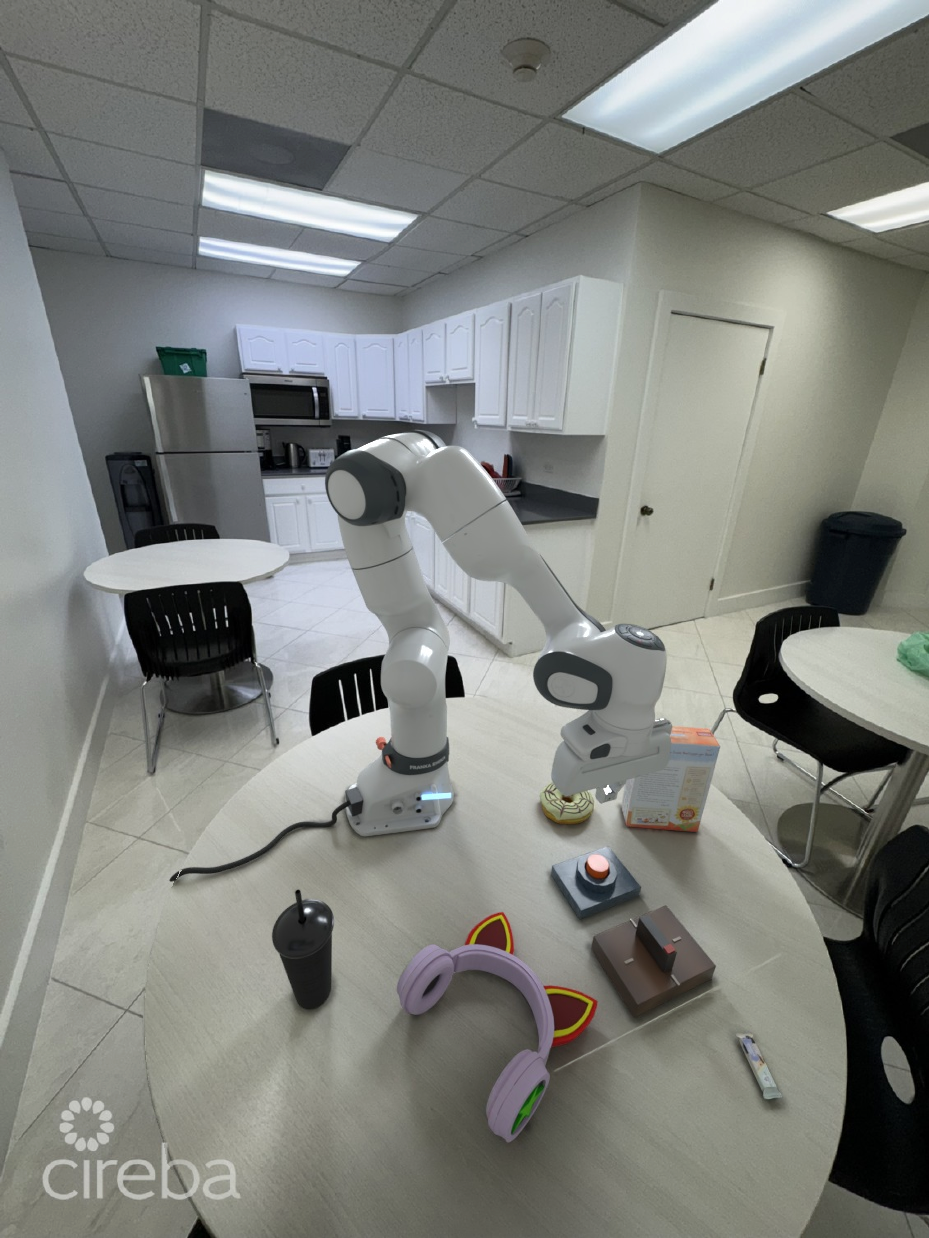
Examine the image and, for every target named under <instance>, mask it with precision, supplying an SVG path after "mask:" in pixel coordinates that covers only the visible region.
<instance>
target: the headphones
mask: <svg viewBox="0 0 929 1238" xmlns="http://www.w3.org/2000/svg"><path fill="white" fill-rule="evenodd" d="M514 952H515V945H514V935H513V931H512V927H511V924H510V922H509V919H508V916H507V915H506V914H505V913H504V912H503V911H500V912H496V913H493V914H490V915H489V916H487V917H485V918H484V919H482V920H481V921H479V922H478V923H477V924H476V925H475V926H474V927H473V928H471V930H470V932H469V933H468V934H467V938H466V941H465V943H464V945H461V946H459V947H455V948H453V949H451V950H450V951H448V950H447V949H445V948H442V947H439V946H438V945H437V944H429V945H427V946H425V947H424V948H422V949H421V950H419V951H418V952H417V953H416V954H415V955H414V956H413V957H412V958H410V960H409V962H408V963H407V964H406V966H405V967H404V969H403V970H402V972H401V974H400V976H399V978H398V981H397V984H396V994H397V995H398V997H399V1004H400V1006H401V1008H402V1009H403V1011H404V1012H405V1013H407V1014H412V1015H414V1016H415V1015H416V1016H417V1015H422V1014H424V1013H426V1012H427V1011H429V1010H430V1009H431V1008H432V1007H433V1006H435V1004H437V1003H438V1001H439V1000H440V999H442V996H444V994H445V992H446V991H447V989H448V987H449V986H450V983H451V982H452V979H453V977H454V973H455V974H458V973H461V972H464V971H474V970H475V971H481V972H486V973H489V974H492V975H495V976H498V977H501V978H502V979H504V980H506V981H508V982H509V983H511V984H512V985H513V986H515V988H517V989H518V990H519V991H520V993H521V994H522V995H523V996H524V999H526V1001H527V1003H528V1005H529V1007H530V1009H531V1011H532V1014H533V1017H534V1021H535V1024H536V1027H537V1028H536V1029H537V1034H538V1046H537V1047H538V1049H537V1051H535V1050H534V1051H532V1050H530V1049H522V1050H521V1051H520V1052H518V1053H517V1054H516V1055H515V1056H514V1057H512V1058H511V1060H510V1061H509V1062H508V1063H507V1064H506V1066H505V1067H504V1068H503V1070H502V1071H501V1073H500V1075H498V1078H497V1080H495V1083H494V1085H493V1087H492V1089H491V1091H490V1094H489V1097H488V1099H487V1103H486V1107H485V1112H486V1117H487V1119H488V1121H487V1125H488V1127H489V1129H490V1131H492V1133H493V1134H494V1135H496V1136H498V1137H501V1138H503V1139H504V1140H505V1142H506V1143H511V1142H512V1141H514V1140H515V1139H516V1138H517V1137H518V1136H519V1135H520V1133H522V1131H523V1130H524V1128H525V1127H526V1125H527V1124H528V1123H529V1121H530V1120H531V1119H532V1117H533V1115H534V1114H535V1112H536V1110H537V1109H538V1107H539V1105H540V1103H541V1101H542V1099H543V1097H544V1095H545V1093H546V1091H547V1088H548V1086H549V1082H550V1079H551V1075H550V1072H549V1071H548V1069H547V1067H546V1064H547V1062H548V1058H549V1055H550V1053H551V1049H552V1048H556V1047H559V1046H563V1045H567V1044H569V1043H572V1042H573V1041H574V1040H576V1039H577V1038H578V1037H579V1036H580V1035H581V1034H582V1033H583V1032H584V1031H585V1030H586V1029H587V1027H588V1026H589V1025H590V1023H591V1022H592V1020H593V1018H594V1017H595V1014H596V1011H597V1008H598V1004H599V1003H598V1001H597V999H595V998H594V997H592V996H590V995H588V994H586V993H583V992H582V991H579V990H575V989H572V988H568V987H564V986H558V985H543V983H542V981H541V980H540V979H539V977H538V976H537V975H536V973H535V972H534V970H532V969H531V968H530V967H529V966H528V965H527V964H526V963H525V962H524V961H522V960H521V959H520V958H518V957H517V956H516V955H514Z"/></svg>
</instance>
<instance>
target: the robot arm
mask: <svg viewBox="0 0 929 1238" xmlns="http://www.w3.org/2000/svg"><path fill="white" fill-rule="evenodd" d="M324 488H325V493H326V497H327V500H328V501H329V504H330V506H331V507H332V509H333V511H334V512H335V513H336V514H337V521H338V527H339V528H338V529H339V533H340V537H341V541H342V544H343V548H344V551H345V554H346V558H347V560H348V563H349V566H350V569H351V571H352V573H353V576H354V578H355V582H356V584H357V587H358V589H359V592H360V594H361V596H362V599H363V602H364V604H365V607H366V609H367V610H368V611H369V613H372V614H374V615H375V616H376V617H377V618H378V620H379V621H380V623H381V624H382V626H383V627H384V629H385V631H386V634H387V637H388V638H387V639H388V647H387V650H386V651H385V654H384V656H383V659H382V661H381V666H380V667H381V668H380V669H381V670H380V686H381V687H380V688H381V691H382V692H383V695H384V696H385V698H386V699H387V704H388V708H389V714H390V715H389V717H390V718H389V720H390V739H389V740H388V742H387V741H386V738H385V737H384V736H379V737H377V738H376V739H375V745H376V748H377V749H378V750H379V751H381V755H379V756H378V757H377V758H375V759H374V760H373V761H372V762H371V763H369V764H368V765H367V766H365V767H364V768H362V769H361V770H360V772H359V774H358V776H357V779H356V783H354V784H352V785H350V786H349V787H348V789H346V790H345V791H344V793H345V800H344V802H343V803H342V804H340V805H338V806H337V807H336V808H334V810H333V811H332V813H331V820H330V821H327V822H317V821H300V822H295V823H292V824H291V825H289V826H287V827H286V828H284V829H283V830H281V831H280V832H279V833H278V834H277V835H276V836H275V837H274V838H273V839H272V840H271V841H270V842H269V843H268V844H266V845H265V846H264V847H263V848H261V849H260V850H257V851H255V852H254V853H251V854H250V855H248V856H245V857H243V858H241V859H237V860H235V861H232V862H229V863H226V864H222V865H218V866H212V867H211V866H210V867H203V866H191V867H184V868H182V869H181V870H182V871H181V872H180V874H179V870H178V871H176V872H175V873H173V874H172V876H171V877H170V878H169V882H175V881H177V879H176V878H177V876H178V874H179V878H180V877H182V876H185V875H195V874H197V875H211V874H217V873H223V872H226V871H228V870H233V869H235V868H238V867H241V866H244V865H246V864H248V863H250V862H252V861H254V860H256V859H258V858H260V857H261V856H264V855H265V854H267V853H268V852H269V851H270V850H271V849H272V848H274V847H275V846H276V845H277V844H278V843H279V842H280V841H281V840H282V839H283V838H284V837H285V836H287V835H288V834H290V833H291V832H292V831H294V830H297V829H300V828H330V827H332V826H334V825H335V824H337V821H338V814H340V812H342V811H343V810H345V814H346V817H347V820H348V823H349V825H350V826H351V828H352V829H353V831H355V833H356V834H357V835H359V836H360V837H373V836H380V835H388V834H395V833H402V832H403V833H404V832H410V831H418V830H427V829H433V828H437V827H438V826H439V824H440V822H441V820H442V817H443V815H444V813H445V812H446V811H447V810H448V809H449V808H450V807H451V805H452V803H453V801H454V798H455V791H454V787H453V784H452V782H451V777H450V773H449V764H448V762H449V761H450V739H449V736H448V705H447V698H446V672H447V663H448V657H449V656H448V655H449V652H450V651H449V650H450V645H451V637H450V632H449V628H448V625H447V622H446V621H445V619H444V618H443V616H442V614H441V612H440V610H439V608H438V607H437V605H436V603H435V600H434V599H433V597H432V595H431V593H430V591H429V589H428V587H427V583H426V581H425V579H424V576H423V573H422V569H421V567H420V563H419V561H418V558H417V555H416V552H415V549H414V546H413V543H412V540H411V538H410V535H409V533H408V532H409V531H408V530H407V529H408V528H407V525H406V515H407V512H413V513H418V514H419V515H421V516H422V517H424V519H425V520H426V521H427V522H428V523H429V525H430V526H431V528H432V529H433V531H434V532H435V535H436V536H437V537H438V539H439V540H440V542H441V543H442V545H443V547H444V548H445V549H446V551H447V553H448V554H449V556H450V558H451V559H452V560H453V561H454V562H455V564H456V565H457V566H458V567H459V568H460V569H461V570H462V571H463V572H464V573H465V574H466V575H467V576H468V577H469V578H471V579H475V580H478V581H482V582H498V583H503V584H506V585H508V586H511V587H512V588H513V589H514V590H515V591H517V593H518V594H520V596H521V597H522V598H523V600H524V601H525V602H526V604H527V605H528V607H529V608H530V609H531V611H532V612H533V614H534V615H535V616H536V617H537V619H538V620H539V621H540V623H541V624H542V626H543V629H544V631H545V639H546V640H545V641H546V642H545V645H544V647H543V648H542V649H541V652H540V654H539V656H538V658H537V660H536V663H535V664H534V667H533V670H532V673H533V674H532V679H533V683H534V686H535V688H536V690H537V692H538V693H539V694H540V696H541V697H543V699H544V700H546V701H547V702H549V703H551V704H553V705H555V706H557V707H561V708H565V709H574V710H583V711H586V712H584V713H583V714H582V715H580V716H578V717H577V718H574V719H573V720H571V721H569V722H567V723H565V724H563V726H562V727H561V728H560V737H561V738H562V740H563V741H561V742H560V743H559V745H558V746H557V747H556V750H555V753H554V757H553V761H552V767H551V774H550V777H551V778H550V779H551V782H553V783H554V785H555V786H556V788H557V789H558V790H559V791H560V792H561V793H562V794H563V795H564V796H570V795H574V794H577V793H581V792H585V791H591V790H595V794H594V796H595V799H596V800H597V802H598V803H599V804H604V803H608V802H612V801H616V800H617V798H618V794H619V792H620V791H621V790H622V789H623V788H624V787H625V784H626V781H627V780H628V779H632V778H635V777H639V776H643V775H646V774H650V773H654V772H657V771H661V770H663V769H664V768H665V767H666V766H667V765H668V762H669V758H670V751H671V737H670V734H671V730H672V726H673V724H672V722H671V721H670V720H668V719H667V718H665V717H660V718H657V719H656V704H657V703H658V701H659V700H660V698H661V696H662V692H663V688H664V683H665V678H666V672H667V663H668V662H667V661H668V655H667V653H668V652H667V648H666V646H665V643H664V642H663V641H662V640H661V638H660V637H659V636H658V635H657V634H655V633H654V632H653V631H651V630H650V629H647V628H645V627H643V626H640V625H638V624H633V623H618V624H616V625H614V626H613V627H611V628H609V629H606V628H605V626H604V625H603V624H602V623H601V622H600V621H599V620H598V619H596V618H595V617H594V616H592V615H590V614H589V613H587V612H586V611H585V610H583V609H582V608H581V607H580V606H579V605H578V604H577V603H576V602H575V601H574V599H573V598H572V596H571V595H570V594H569V592H568V591H567V589H566V588H565V587H564V586H563V584H562V582H561V581H560V579H559V578H558V577H557V575H556V574H555V573H554V571H553V570H552V569H551V567H550V565H549V564H548V563H547V561H546V560H545V559H544V557H543V556H542V555H541V553H539V551H538V549H537V547H536V546H535V544H534V542H533V540H531V538H530V536H529V535H528V533H527V531H526V529H525V528H524V525H523V524H522V522H521V521H520V519H519V517H518V515H517V514H516V512H515V510H514V509H513V507H512V505H511V504H510V502H509V500H507V497H506V496H505V495H504V493H503V491H502V489H500V487H499V486H498V484H497V483H496V482H495V480H494V478H492V476H491V475H490V474H489V473H488V471H487V470H486V469H485V467H483V466H482V464H481V463H480V462H479V460H477V458H476V457H475V456H473V455H472V453H471V452H470V451H469V450H467V449H466V448H464V447H462V446H459V445H447V444H446V443H445V442H444V440H443V439H442V438H441V437H440V436H439V435H437V434H435V433H433V432H431V431H428V430H422V429H410V430H406V431H404V432H402V433H395V434H390V435H386V436H382V437H379V438H377V439H375V440H374V441H372V442H369V443H367V444H364V445H363V446H360V447H358V448H355V449H350V450H347V451H346V452H344V453H342V454H340V455H339V456H338V457H336V458H335V459H334V460H333V461H332V462H331V463H330V464H329V466H328V467H327V469H326V472H325V477H324Z"/></svg>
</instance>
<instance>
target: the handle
mask: <svg viewBox="0 0 929 1238" xmlns="http://www.w3.org/2000/svg"><path fill="white" fill-rule="evenodd" d="M646 914H647V913H646ZM639 917H640V916H639ZM636 935H637V936H638V937H639V939H640V940H641V942H642V943H643V944H644V946H645V947H646V948H647V950H648V951H649V953H650V954H651V955H652V957H653V958H654V960H655V961H656V962H657V964H658V965H659V966H660V968H661V969H662V971H663V972H665V971H667V970H669V969H671V968H673V964H674V961H675V958H676V954H677V952H676V950H675V949H674V947H673V946H672V945H671V944H670V942H669V941H668V940H667V939H666V937H665V936H664V935H663V933H662V932H661V931H660V929H659V928H658V927H657V926H656V924H655V923H654V922H653V920H652V919H651V918H650V917H649V915H648V914H647V915H645V916H643V917H640V918H639V921H638V925H637V929H636Z"/></svg>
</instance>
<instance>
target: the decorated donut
mask: <svg viewBox="0 0 929 1238" xmlns="http://www.w3.org/2000/svg"><path fill="white" fill-rule="evenodd" d="M539 799H540V805H541V809H542V811H543V814H544V815H545V817H546V818H548V819H549V820H551V821H553V822H555V823H557V824H562V825H574V824H581V823H582V822H585V821H586V820H587V819H588V818H590V817H591V816H592V813H593V811H594V806H595V798H594V796H593V795H592V793H591V792H590V790H588V791H585V792H581V793H577V794H574V795H570V796H564V795H563V794H562V793H561V792H560V791H559V790H558V789H557V788H556V786H555V785H554V783H553V782H552V781H550V782H549V783H548V784H547V785H545V787H544V788H543V789H541V791H540V792H539Z"/></svg>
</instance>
